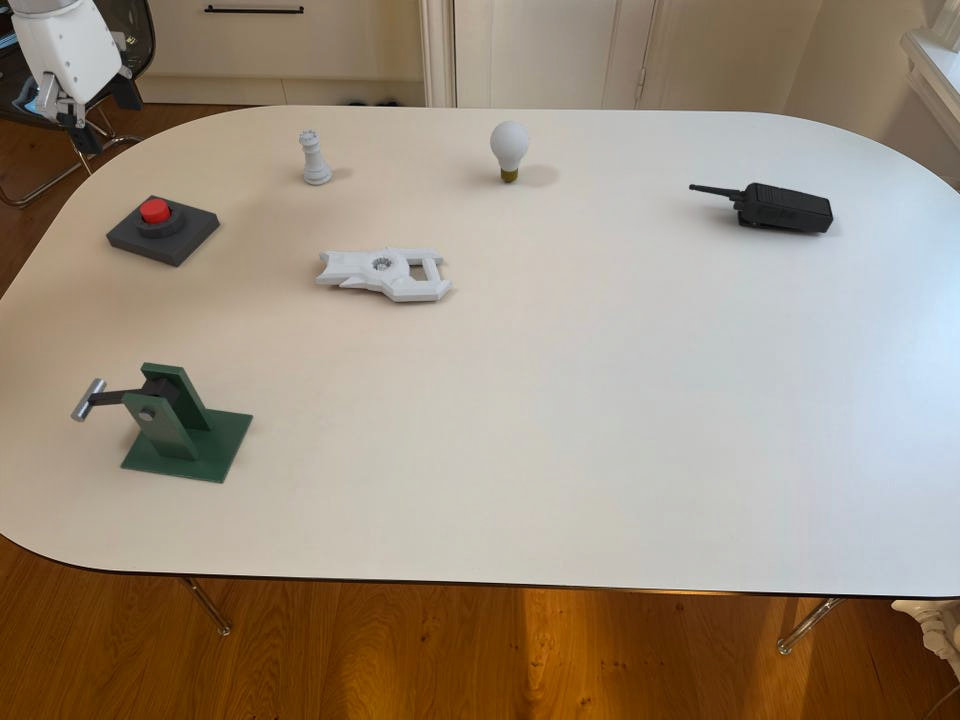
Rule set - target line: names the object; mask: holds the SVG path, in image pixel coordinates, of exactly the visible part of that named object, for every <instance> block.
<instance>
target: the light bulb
mask: <svg viewBox="0 0 960 720" xmlns="http://www.w3.org/2000/svg"><path fill="white" fill-rule="evenodd" d="M489 145H490V149H491V152H492V153H493V156H495V157H496V159H497V161H498V164H499V167H500V178H501V179H502V180H503V181H504V182H507V183H512V182H514V181H516V180H517V179H518V176H519V167H520V165H521V162H522V159H523V158H524V156H526V154H527V153H528V151H529V147H530V135H529V133H528V130H527V129H526V128H525V126H524V125H522V123H519V121H514V120H506V121H503V122H500V123H499V124H497V125H496V126H495V127H494V129H493V131H492V132H491V135H490V139H489Z"/></svg>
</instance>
